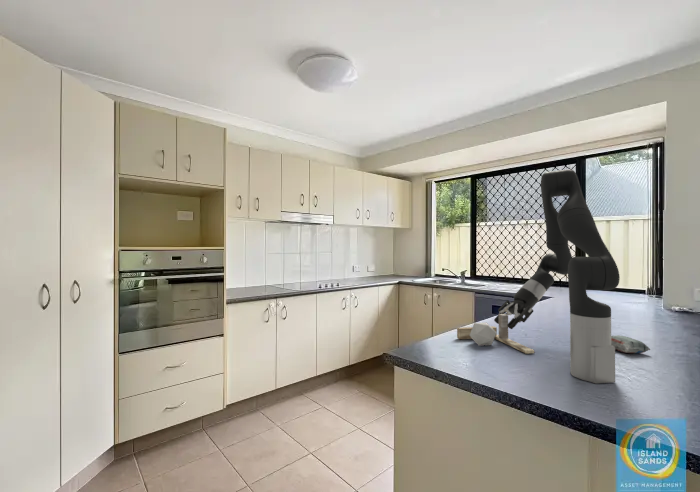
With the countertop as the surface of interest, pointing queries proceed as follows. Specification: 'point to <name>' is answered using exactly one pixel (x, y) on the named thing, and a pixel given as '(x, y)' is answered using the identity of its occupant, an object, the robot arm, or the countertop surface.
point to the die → (482, 334)
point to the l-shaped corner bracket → (503, 334)
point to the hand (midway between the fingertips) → (502, 324)
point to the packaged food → (628, 344)
